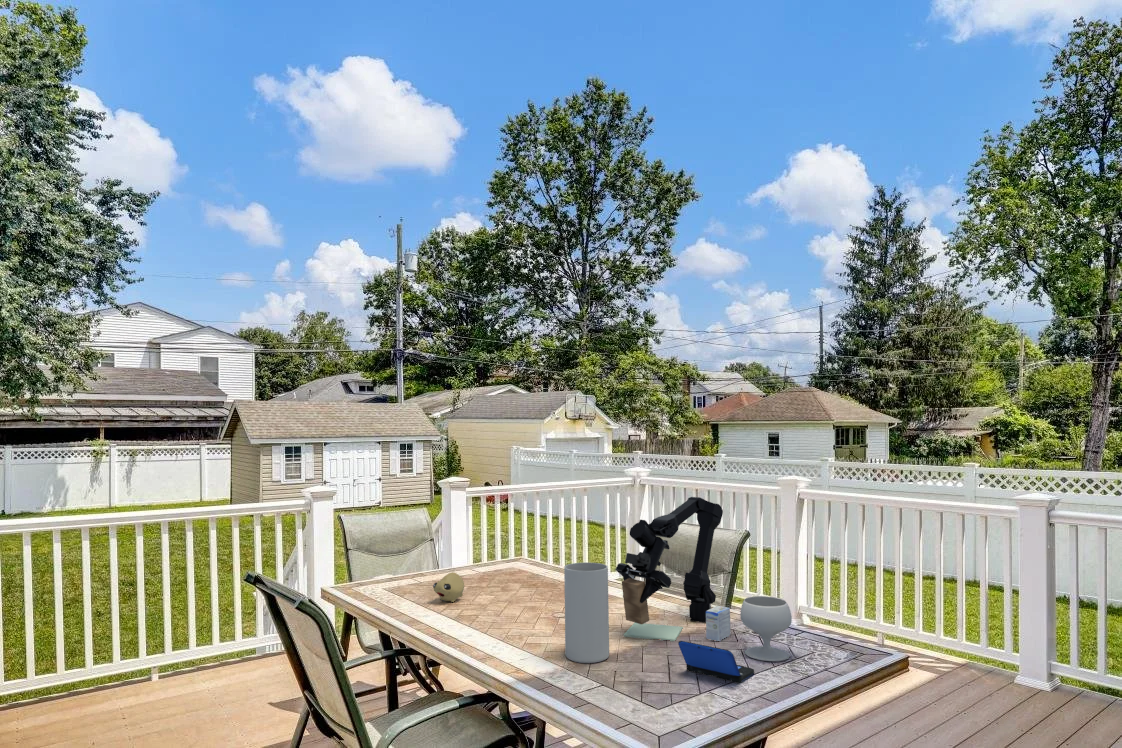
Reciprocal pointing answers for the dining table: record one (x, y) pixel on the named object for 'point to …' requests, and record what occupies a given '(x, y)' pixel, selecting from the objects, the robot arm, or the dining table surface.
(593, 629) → the cylinder vase
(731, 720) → the dining table surface
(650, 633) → the mat
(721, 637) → the medicine box
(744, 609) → the chalice
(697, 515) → the robot arm
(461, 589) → the olive toy creature
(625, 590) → the walnut slab
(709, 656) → the handheld game console
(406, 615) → the dining table surface
